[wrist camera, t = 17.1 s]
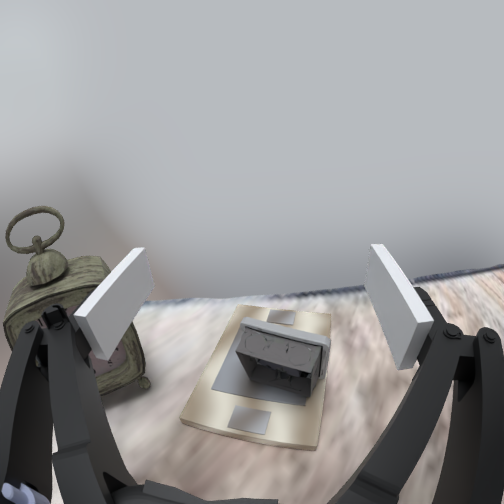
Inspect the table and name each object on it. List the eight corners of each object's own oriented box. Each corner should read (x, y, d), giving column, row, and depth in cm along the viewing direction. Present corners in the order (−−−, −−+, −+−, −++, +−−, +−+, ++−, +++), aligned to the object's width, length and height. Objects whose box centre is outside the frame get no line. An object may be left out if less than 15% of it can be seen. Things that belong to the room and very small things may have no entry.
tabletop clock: (70, 424, 23) (-41, 246, 12) (63, 378, 30) (-13, 220, 18) (163, 390, 30) (95, 193, 19) (143, 349, 37) (92, 182, 26)
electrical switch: (326, 375, 29) (336, 324, 25) (313, 410, 25) (322, 366, 21) (256, 356, 33) (248, 304, 28) (237, 387, 29) (224, 339, 25)
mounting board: (330, 321, 41) (331, 312, 40) (314, 450, 22) (317, 445, 21) (238, 311, 44) (237, 303, 44) (182, 423, 26) (178, 416, 25)
